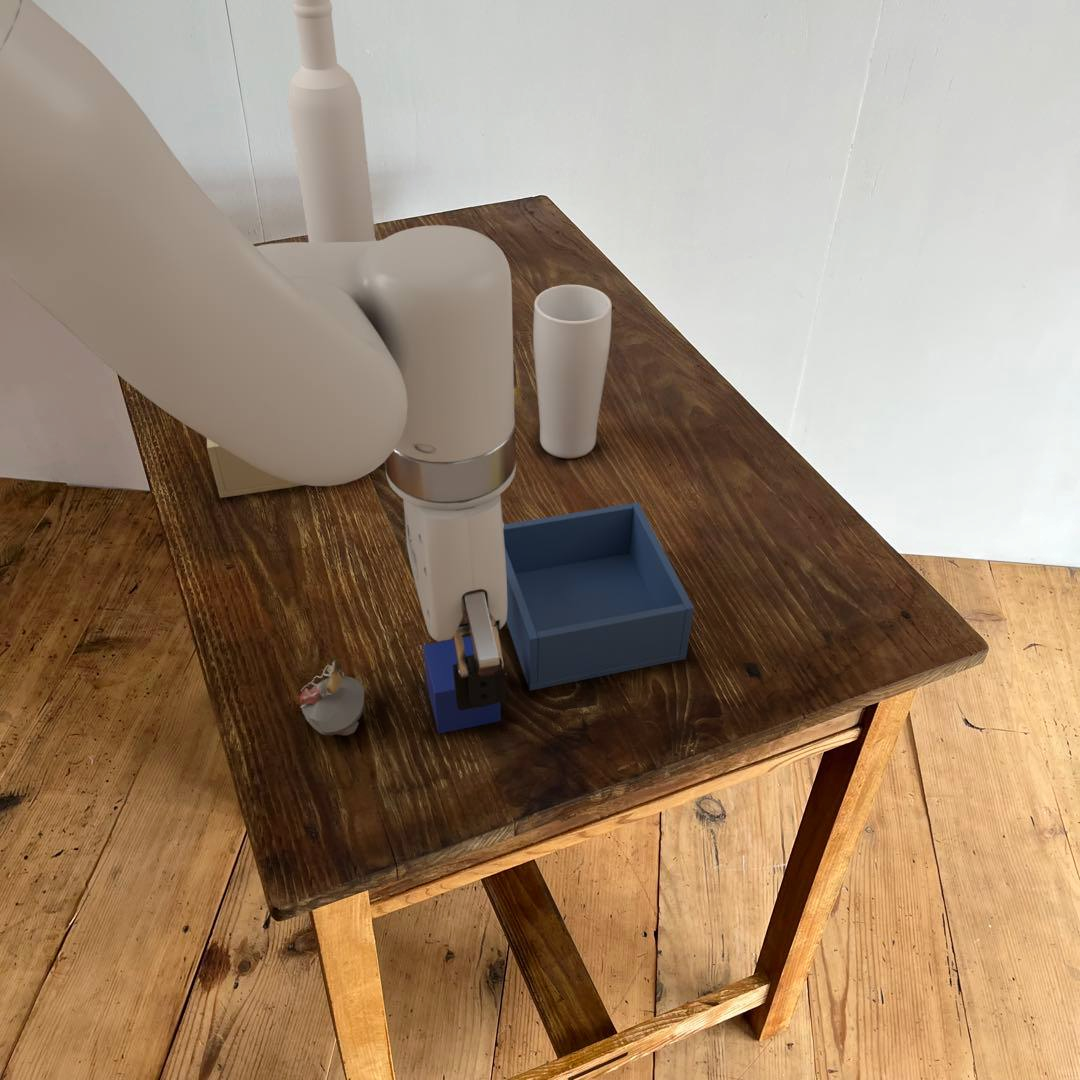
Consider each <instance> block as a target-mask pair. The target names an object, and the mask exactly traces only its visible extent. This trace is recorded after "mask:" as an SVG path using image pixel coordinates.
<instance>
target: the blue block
mask: <svg viewBox="0 0 1080 1080" xmlns="http://www.w3.org/2000/svg"><path fill="white" fill-rule="evenodd" d="M463 643H464V648H465V654H466V656H471V655H474V649H473V644H472V639H471V635H468V636H463ZM422 648H423V650H422V651H423V661H424V671H425V680H426V688H427V691H428V692H427V693H428V696H429V700H430V705H431V708H432V713H433V717H434V721H435V725H436V729H437V733H438V734H445V733H451V732H455V731H459V730H464V729H469V728H474V727H479V726H483V725H488V724H494V723H498V722H501V721H502V719H501V717H502V716H501V713H502V712H501V702H499V703H494V704H491V705H489V706H485V707H480V708H471V709H466V710H459V709H458V707H457V704H456V697H455V686H454V676H453V665H455V664H457V661H456V655H455V649H454V644H453V639H451V640H444V641H440V642H438V641H436V642H433V643H432V642H431V643H427V644H423V645H422Z"/></svg>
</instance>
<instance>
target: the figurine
mask: <svg viewBox="0 0 1080 1080" xmlns="http://www.w3.org/2000/svg"><path fill="white" fill-rule="evenodd" d="M341 663H342V664H343V662H342V661H341V660H340V659H338V658H337V659H333V662H332V664H331V665H330V664H327V665H325V667H324V669H323V672H322V674H321V676H319V675H315V676H314V677H313V679H312V680H311V681H310V682H308V683H307V684H306V685H304V686H303V687H302V688H301V690H300V692H301V694H300V696H299V703H300V704H301V706H300V708H301V711H302V714H303V716H304V718H305V720H306V721H307V723H309V725H310V726H311V727H312V728H313V729H314V730H316V731H317V732H318V733H319V734H320V735H323V736H336V735H338V736H349V735H352V734H353V733H355V732H356V731H357V729H358V727H359V724H360V722H359V720H360V718H361V717H362V714H363V712H364V704H365V690H364V687H363V685H362V683H361V682H360V681H359V680H358V679H356V678H355V677H352V676H347V675H345V674H344V672H343V666H342V664H341ZM326 671H327V672H328V673H326ZM323 677H328V678H325V679H323V680H321V681H319V682H318V683H315V679H316V678H319V679H321V678H323ZM309 685H313V686H312V688H311V689H308V686H309Z"/></svg>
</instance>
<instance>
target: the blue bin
mask: <svg viewBox="0 0 1080 1080" xmlns="http://www.w3.org/2000/svg"><path fill="white" fill-rule="evenodd" d="M503 531H504V544H505V558H506V575H507V620H506V622H505V623H506V625H507V628H508V630H509V634H510V637H511V641H512V643H513V646H514V648H515V649H514V650H515V651H516V655H517V657H518V661H519V664H520V666H521V670H522V673H523V676H524V678H525V681H526V684H527V687H528V688H527V689H528V690H529V691H535V690H540V689H546V688H549V687H550V688H551V687H555V686H560V685H565V684H569V683H574V682H579V681H585V680H588V679H595V678H599V677H604V676H610V675H613V674H619V673H625V672H628V671H629V672H630V671H635V670H638V669H644V668H648V667H654V666H660V665H664V664H669V663H673V662H678V661H683V660H686V659H687V653H688V648H689V642H690V635H691V628H692V623H693V618H694V617H693V616H694V610H695V606H694V604H693V603H692V601H691V599H690V597H689V596H688V593H687V591H686V590H685V587H684V586H683V584H682V582H681V580H680V579H679V577H678V574H677V573H676V571H675V568H674V567H673V565H672V564H671V561H670V559H669V557H668V556H667V554H666V552H665V550H664V548H663V546H662V544H661V543H660V541H659V539H658V536H657V535H656V532H655V531H654V529H653V527H652V526H651V524H650V522H649V520H648V518H647V516H646V514H645V512H644V510H643V508H642V506H641V505H640V503H639V501H636V502H631V503H626V504H620V505H619V504H618V505H612V506H607V507H601V508H595V509H590V510H583V511H578V512H577V511H576V512H571V513H565V514H560V515H553V516H548V517H542V518H541V517H540V518H535V519H530V520H523V521H519V522H512V523H511V522H510V523H506V524H505V523H504V528H503Z"/></svg>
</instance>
